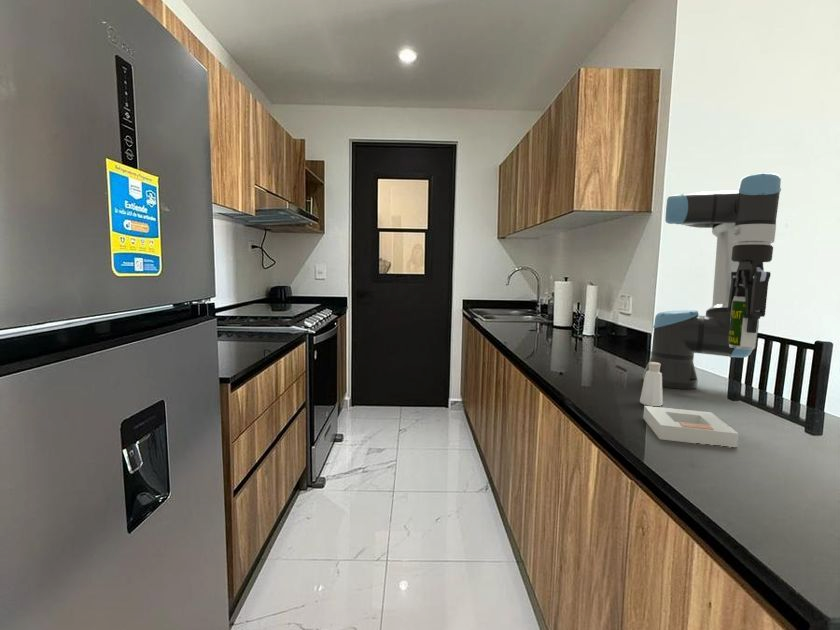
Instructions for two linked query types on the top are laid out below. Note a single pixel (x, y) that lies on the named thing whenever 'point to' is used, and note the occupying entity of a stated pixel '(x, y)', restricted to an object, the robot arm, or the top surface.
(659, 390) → the salt shaker
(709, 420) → the socket block
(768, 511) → the top surface
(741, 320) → the beer can
